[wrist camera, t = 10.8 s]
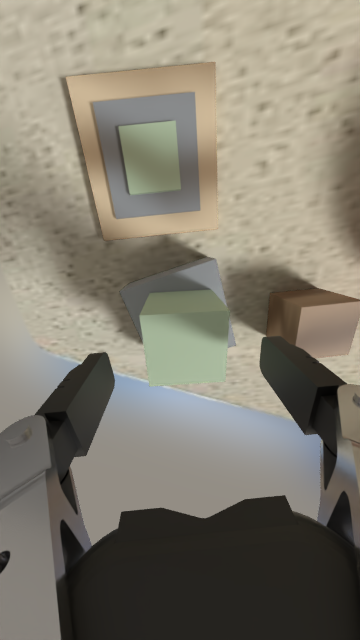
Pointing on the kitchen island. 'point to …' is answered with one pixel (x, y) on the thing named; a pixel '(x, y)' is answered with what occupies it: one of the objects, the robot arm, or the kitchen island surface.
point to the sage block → (185, 337)
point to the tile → (150, 148)
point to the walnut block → (314, 320)
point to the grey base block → (175, 287)
